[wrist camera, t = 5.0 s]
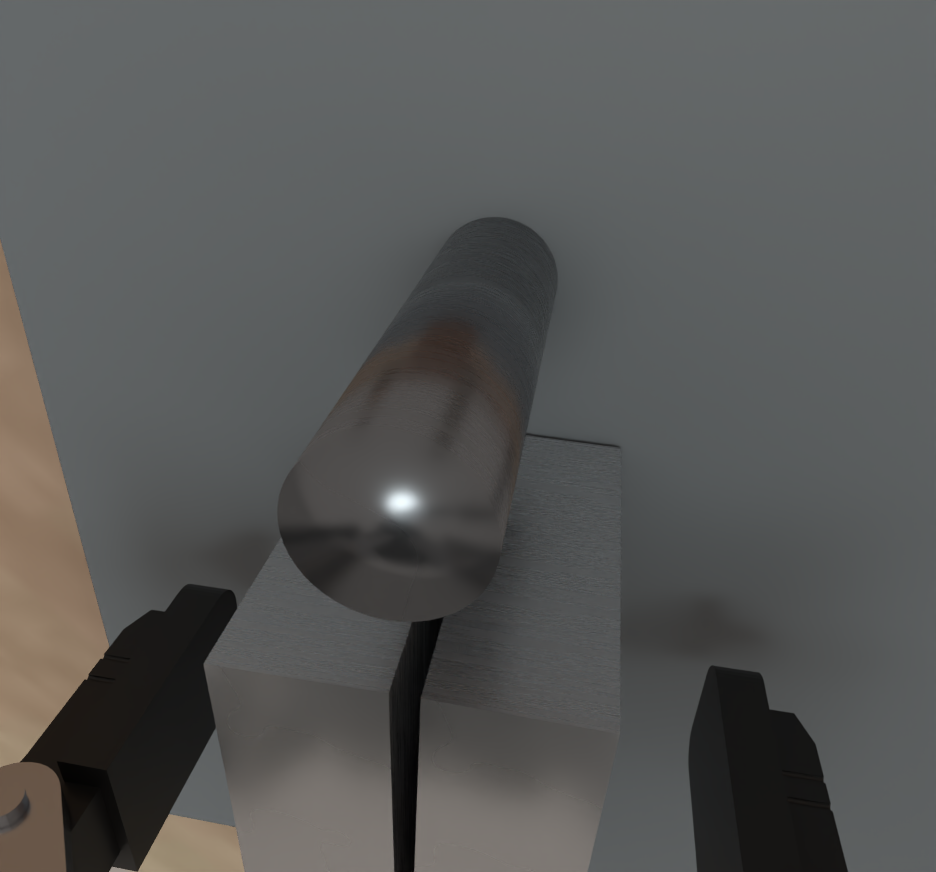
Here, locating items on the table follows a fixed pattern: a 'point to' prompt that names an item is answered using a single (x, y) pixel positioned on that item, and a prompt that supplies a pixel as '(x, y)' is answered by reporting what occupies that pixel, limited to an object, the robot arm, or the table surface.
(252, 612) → the jaw
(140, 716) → the robot arm
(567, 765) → the bar
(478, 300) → the post
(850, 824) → the slate board
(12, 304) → the table surface
